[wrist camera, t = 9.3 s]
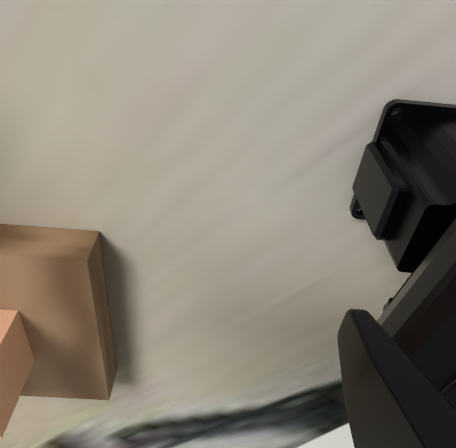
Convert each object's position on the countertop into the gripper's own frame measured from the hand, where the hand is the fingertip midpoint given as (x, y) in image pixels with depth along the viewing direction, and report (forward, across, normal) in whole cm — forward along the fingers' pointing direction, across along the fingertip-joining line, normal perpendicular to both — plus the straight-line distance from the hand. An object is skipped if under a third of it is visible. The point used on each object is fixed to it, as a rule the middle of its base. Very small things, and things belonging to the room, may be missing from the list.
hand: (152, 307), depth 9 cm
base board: (+12, +12, +15) cm, 23 cm away
